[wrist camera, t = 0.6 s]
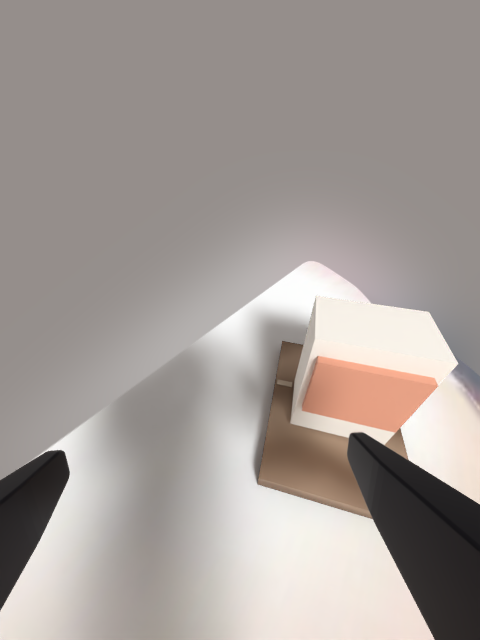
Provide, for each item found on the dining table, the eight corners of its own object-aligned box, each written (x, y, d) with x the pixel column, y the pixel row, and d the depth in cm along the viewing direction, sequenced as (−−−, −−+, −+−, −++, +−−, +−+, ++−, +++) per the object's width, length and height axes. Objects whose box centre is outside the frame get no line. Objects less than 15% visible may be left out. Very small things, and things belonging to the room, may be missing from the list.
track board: (415, 531, 18) (426, 527, 17) (257, 484, 20) (258, 477, 19) (377, 367, 30) (382, 358, 29) (280, 349, 32) (282, 340, 31)
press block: (384, 453, 20) (462, 371, 13) (289, 429, 22) (314, 345, 15) (373, 397, 24) (428, 312, 17) (294, 380, 26) (316, 295, 19)
